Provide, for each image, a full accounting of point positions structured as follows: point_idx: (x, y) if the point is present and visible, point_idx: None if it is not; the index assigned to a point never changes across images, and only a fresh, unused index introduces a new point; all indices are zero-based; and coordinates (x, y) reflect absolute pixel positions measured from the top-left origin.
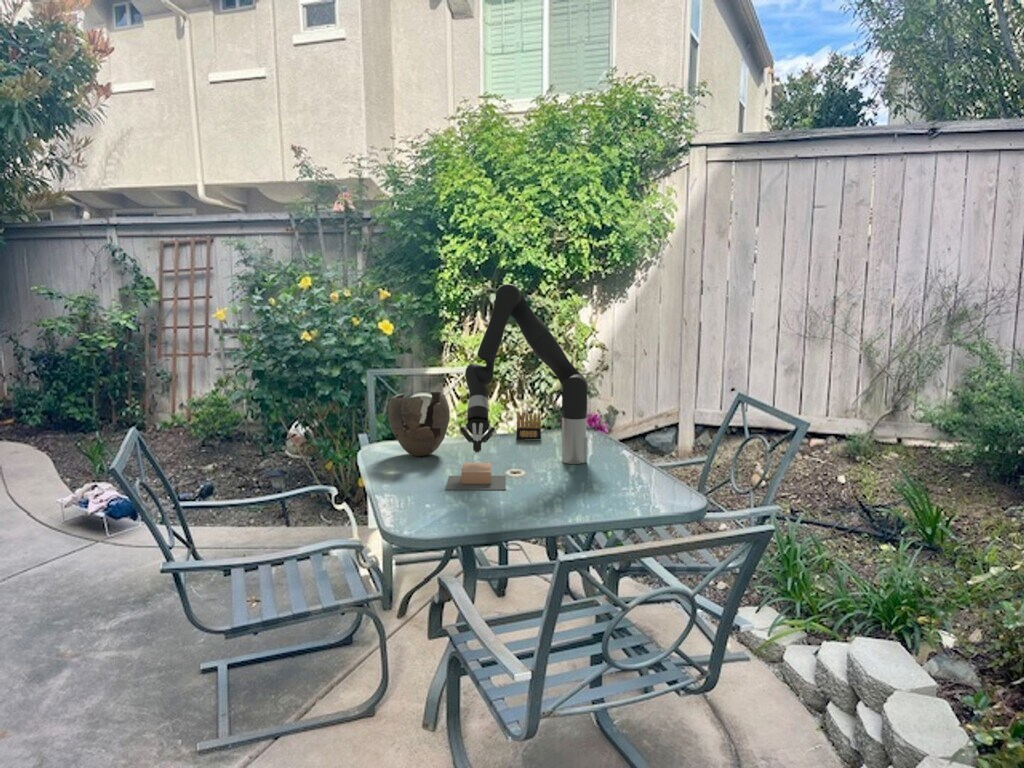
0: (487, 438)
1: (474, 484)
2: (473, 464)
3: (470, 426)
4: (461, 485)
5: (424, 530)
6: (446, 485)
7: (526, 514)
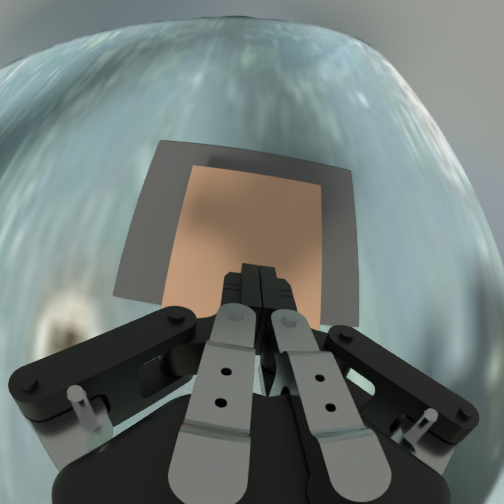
0: (143, 374)
1: None
2: None
3: (393, 464)
4: None
5: (336, 39)
6: (353, 205)
7: (169, 42)
